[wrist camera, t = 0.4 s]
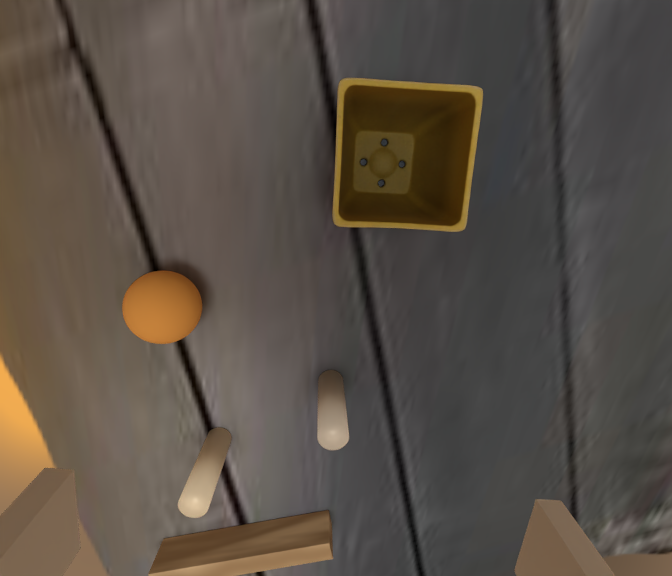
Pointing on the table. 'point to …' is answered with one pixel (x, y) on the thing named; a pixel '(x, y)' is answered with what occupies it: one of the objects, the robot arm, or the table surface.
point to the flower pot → (405, 154)
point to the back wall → (247, 547)
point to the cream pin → (205, 474)
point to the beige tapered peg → (332, 411)
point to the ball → (162, 307)
